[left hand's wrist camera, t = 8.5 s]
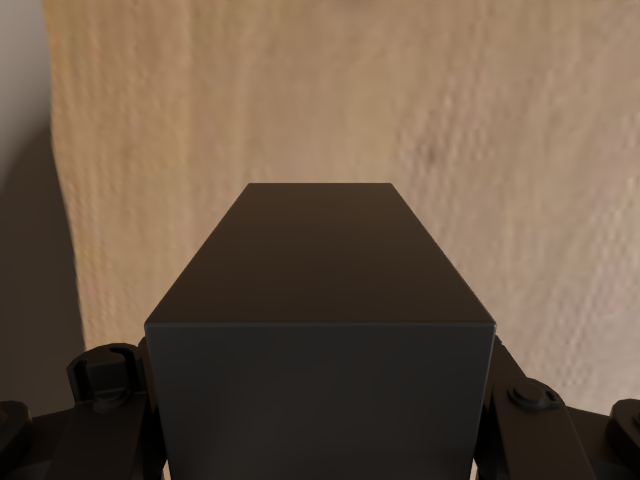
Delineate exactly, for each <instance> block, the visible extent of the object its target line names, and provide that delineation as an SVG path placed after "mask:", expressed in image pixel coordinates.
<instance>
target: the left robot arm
mask: <svg viewBox="0 0 640 480" xmlns="http://www.w3.org/2000/svg"><path fill="white" fill-rule="evenodd" d="M66 370H67V374H68V378H69V381H70V385H71V389H72V393H73V396H74V400H75V406H74V408H71V409H68V410H64V411H60V412H56V413H51V414H47V415H42V416H38V417H33V418H31V415H30V412H29V408H28V407H27V406H26V405H25V404H24V403H22V402H18V401H11V400H10V401H2V402H0V480H165V479H164V473H163V468H164V465H165V463H166V461H167V454H166V448H165V443H164V437H163V431H162V426H161V420H160V414H159V409H158V403H157V397H156V392H155V386H154V380H153V375H152V369H151V363H150V358H149V352H148V346H147V341H146V335H145V337H143V338H142V340H141V341H140V343H139V344H138V347H136V346H135V345H131V344H127V343H111V344H107V345H103V346H98V347H96V348H94V349H91V350H89V351H86V352H84V353H83V354H81V355H80V356H78V357H77V358H75V359H74V360H73V361H72V362H71V363H70V365H69V366H68V367H67V368H66ZM473 458H474V460H475V463H476V465H477V467H478V468H477V473H476V479H475V480H640V400H637V399H625V400H619V401H618V402H616V403H615V404H614V405H613V407H612V410H611V413H610V416H606V415H601V414H597V413H592V412H588V411H584V410H579V409H575V408H572V407H568V406H566V405H565V403H564V402H563V400H562V399H561V397H560V396H559V394H558V393H556V392H555V391H554V390H553V389H551V388H550V387H549V386H547V385H545V384H543V383H541V382H539V381H537V380H535V379H532V378H528V377H526V376H525V374H524V373H523V371H522V370H521V369H520V367H519V366H518V364H517V363H516V361H515V360H514V359H513V357H512V356H511V354H510V353H509V352H508V350H507V349H506V347H505V346H504V345H502V342H501V340H500V339H499V338H498V336H497V335H495V338H494V344H493V349H492V355H491V361H490V366H489V372H488V378H487V383H486V389H485V395H484V400H483V406H482V412H481V418H480V423H479V429H478V435H477V440H476V446H475V452H474V457H473Z"/></svg>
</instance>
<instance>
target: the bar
mask: <svg viewBox="0 0 640 480" xmlns="http://www.w3.org/2000/svg"><path fill="white" fill-rule="evenodd" d="M144 329H145V335H146V341H147V346H148V352H149V358H150V363H151V369H152V375H153V380H154V386H155V392H156V397H157V403H158V409H159V414H160V420H161V426H162V431H163V437H164V443H165V448H166V454H167V460H168V465H169V471H170V477H171V480H470V474H471V469H472V463H473V457H474V452H475V446H476V440H477V435H478V429H479V423H480V418H481V412H482V406H483V400H484V395H485V389H486V383H487V378H488V372H489V366H490V361H491V355H492V349H493V344H494V338H495V332H496V322H495V320H494V319H493V318H492V316H491V315H490V314H489V312H488V311H487V310H486V308H485V307H484V306H483V304H482V303H481V302H480V300H479V299H478V298H477V296H476V295H475V294H474V292H473V291H472V290H471V288H470V287H469V286H468V284H467V283H466V282H465V280H464V279H463V278H462V277H461V275H460V274H459V273H458V271H457V270H456V269H455V267H454V266H453V265H452V263H451V262H450V261H449V259H448V258H447V257H446V255H445V254H444V253H443V251H442V250H441V249H440V247H439V246H438V245H437V243H436V242H435V241H434V239H433V238H432V237H431V235H430V234H429V233H428V231H427V230H426V229H425V227H424V226H423V225H422V223H421V222H420V221H419V219H418V218H417V217H416V215H415V214H414V213H413V211H412V210H411V209H410V207H409V206H408V205H407V203H406V202H405V201H404V200H403V198H402V197H401V196H400V194H399V193H398V192H397V190H396V189H395V188H394V186H393V185H392V184H391V183H249V184H248V185H247V186H246V188H245V189H244V190H243V192H242V193H241V194H240V196H239V197H238V198H237V200H236V201H235V202H234V204H233V205H232V206H231V208H230V209H229V210H228V212H227V213H226V214H225V216H224V217H223V218H222V220H221V221H220V222H219V224H218V225H217V226H216V228H215V229H214V230H213V232H212V233H211V234H210V236H209V237H208V238H207V240H206V241H205V242H204V244H203V245H202V246H201V248H200V249H199V250H198V252H197V253H196V254H195V256H194V257H193V258H192V260H191V261H190V262H189V264H188V265H187V266H186V268H185V269H184V270H183V272H182V273H181V274H180V276H179V277H178V279H177V280H176V281H175V283H174V284H173V285H172V287H171V288H170V289H169V291H168V292H167V293H166V295H165V296H164V297H163V299H162V300H161V301H160V303H159V304H158V305H157V307H156V308H155V309H154V311H153V312H152V313H151V315H150V316H149V317H148V319H147V320H146V321H145V324H144Z"/></svg>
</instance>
